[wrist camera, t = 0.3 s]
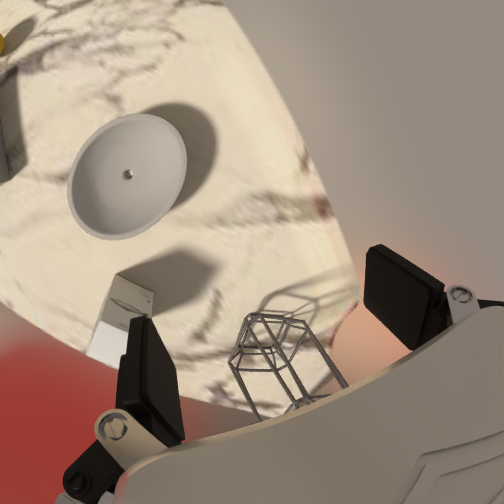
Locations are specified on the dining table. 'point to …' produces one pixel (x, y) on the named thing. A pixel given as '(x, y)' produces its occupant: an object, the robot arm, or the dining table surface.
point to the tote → (3, 162)
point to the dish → (118, 184)
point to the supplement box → (118, 319)
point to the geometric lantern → (283, 357)
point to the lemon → (1, 43)
